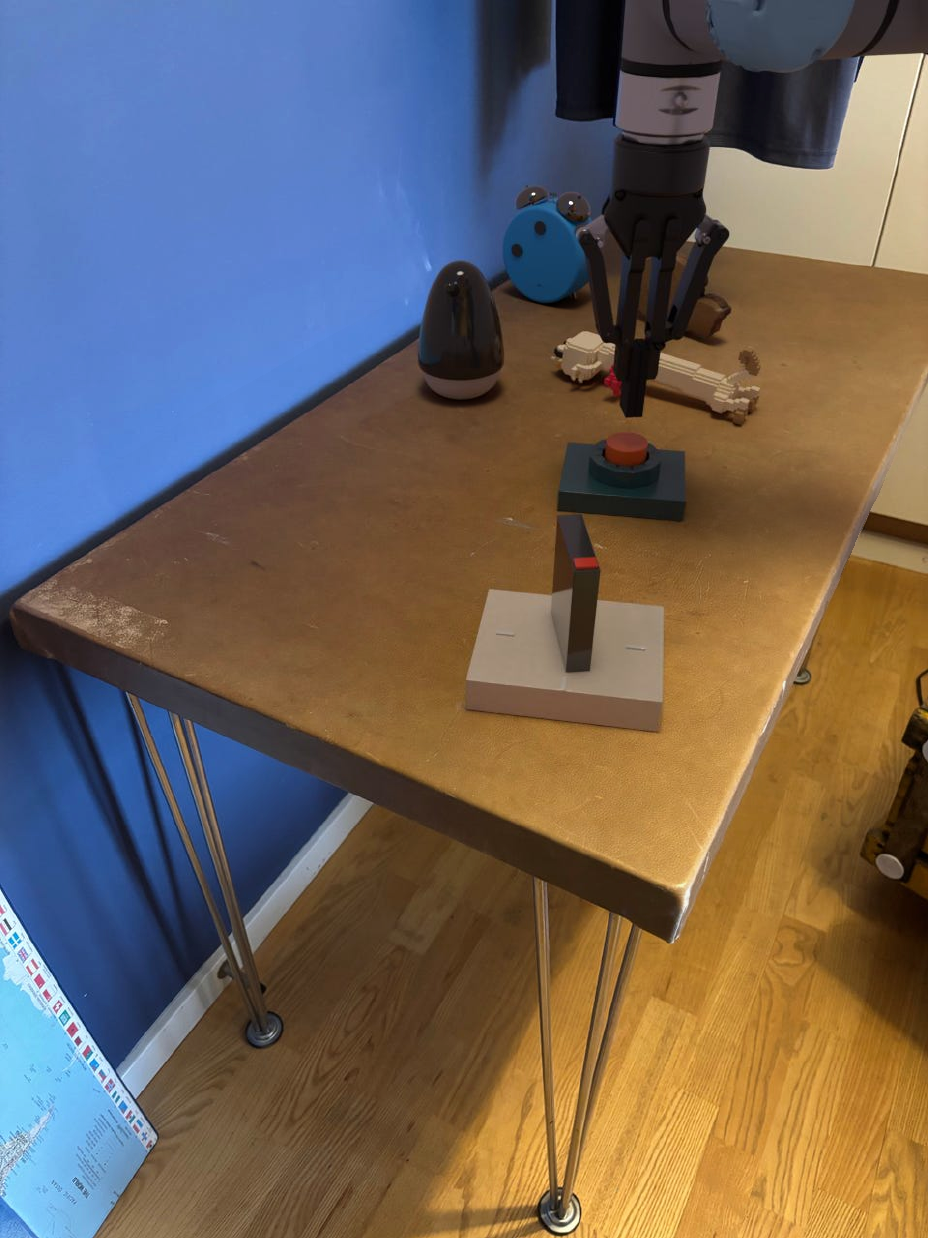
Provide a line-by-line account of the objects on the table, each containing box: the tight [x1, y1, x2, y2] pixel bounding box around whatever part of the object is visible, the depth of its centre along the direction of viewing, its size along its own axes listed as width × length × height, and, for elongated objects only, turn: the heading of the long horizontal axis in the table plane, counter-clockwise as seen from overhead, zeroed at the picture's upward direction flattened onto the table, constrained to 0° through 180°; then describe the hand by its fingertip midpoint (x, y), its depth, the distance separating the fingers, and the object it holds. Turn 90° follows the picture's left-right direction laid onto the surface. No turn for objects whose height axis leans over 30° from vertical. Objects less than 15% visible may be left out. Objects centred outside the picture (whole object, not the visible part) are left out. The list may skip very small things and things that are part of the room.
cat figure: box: [550, 330, 762, 426], centre depth 106 cm, size 10×9×25 cm
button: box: [605, 431, 649, 466], centre depth 89 cm, size 4×4×2 cm
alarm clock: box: [502, 184, 593, 304], centre depth 129 cm, size 13×6×15 cm, turn 53°
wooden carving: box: [638, 252, 732, 339], centre depth 121 cm, size 16×5×10 cm, turn 44°
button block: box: [556, 438, 687, 522], centre depth 90 cm, size 12×10×4 cm
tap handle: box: [551, 513, 602, 672], centre depth 66 cm, size 7×2×9 cm, turn 5°
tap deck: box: [465, 588, 665, 733], centre depth 70 cm, size 14×11×3 cm
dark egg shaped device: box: [417, 259, 505, 401], centre depth 105 cm, size 10×10×15 cm
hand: (630, 410), depth 86 cm, fingers closed
